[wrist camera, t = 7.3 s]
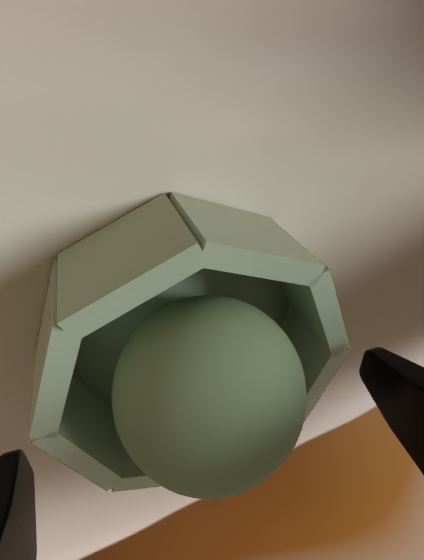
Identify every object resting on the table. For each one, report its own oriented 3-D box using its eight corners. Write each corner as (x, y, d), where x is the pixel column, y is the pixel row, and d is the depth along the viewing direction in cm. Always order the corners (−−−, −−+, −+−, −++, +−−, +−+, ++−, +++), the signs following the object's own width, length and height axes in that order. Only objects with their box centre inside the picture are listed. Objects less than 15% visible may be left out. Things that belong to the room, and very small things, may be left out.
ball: (222, 230, 10) (326, 349, 6) (273, 337, 13) (363, 462, 10) (65, 321, 10) (72, 500, 6) (152, 409, 13) (194, 566, 9)
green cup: (246, 146, 10) (306, 180, 7) (313, 334, 15) (362, 390, 12) (-28, 301, 10) (-56, 388, 7) (134, 439, 15) (148, 517, 12)
